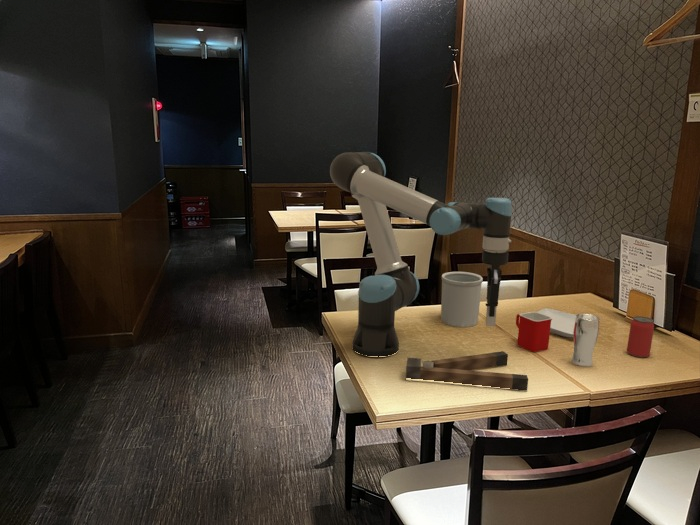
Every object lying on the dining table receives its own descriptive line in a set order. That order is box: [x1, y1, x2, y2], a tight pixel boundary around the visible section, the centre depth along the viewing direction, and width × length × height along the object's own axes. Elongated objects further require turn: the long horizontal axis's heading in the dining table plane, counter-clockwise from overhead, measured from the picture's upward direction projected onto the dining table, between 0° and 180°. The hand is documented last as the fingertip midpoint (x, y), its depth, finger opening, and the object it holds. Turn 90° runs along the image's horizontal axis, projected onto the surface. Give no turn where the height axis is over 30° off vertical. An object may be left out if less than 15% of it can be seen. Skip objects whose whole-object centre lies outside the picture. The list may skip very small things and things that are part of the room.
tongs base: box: [405, 357, 529, 391], centre depth 145 cm, size 33×6×5 cm, turn 81°
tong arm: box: [431, 350, 509, 371], centre depth 153 cm, size 24×2×4 cm, turn 109°
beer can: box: [626, 315, 655, 358], centre depth 165 cm, size 7×7×12 cm
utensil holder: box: [440, 271, 484, 328], centre depth 192 cm, size 15×15×18 cm
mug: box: [515, 311, 552, 353], centre depth 171 cm, size 12×8×11 cm
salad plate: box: [519, 307, 600, 338], centre depth 189 cm, size 21×21×3 cm
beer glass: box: [570, 312, 600, 368], centre depth 157 cm, size 7×7×15 cm
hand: (490, 325), depth 158 cm, fingers closed
